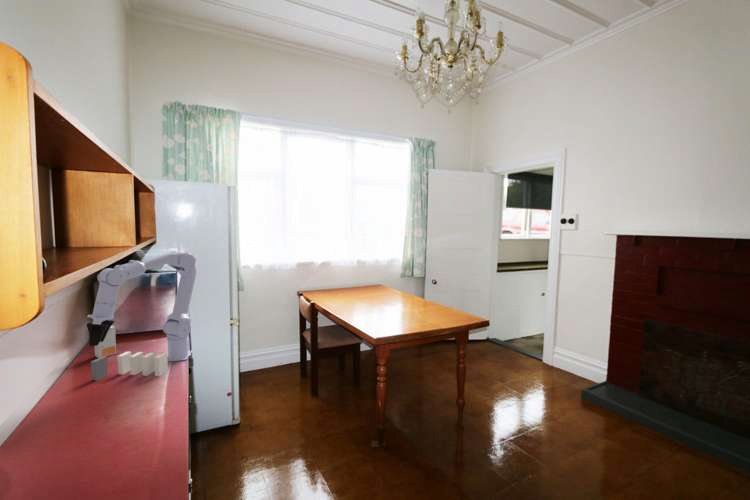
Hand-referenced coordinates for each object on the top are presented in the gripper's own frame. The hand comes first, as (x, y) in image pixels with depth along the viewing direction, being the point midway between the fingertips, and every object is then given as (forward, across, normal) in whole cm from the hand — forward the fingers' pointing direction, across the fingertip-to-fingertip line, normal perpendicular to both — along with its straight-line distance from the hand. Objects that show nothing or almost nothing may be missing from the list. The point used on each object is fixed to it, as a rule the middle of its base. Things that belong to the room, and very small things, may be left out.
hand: (96, 343), depth 114 cm
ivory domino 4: (+11, -5, +21) cm, 24 cm away
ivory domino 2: (+12, -10, +13) cm, 20 cm away
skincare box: (+11, -35, -2) cm, 37 cm away
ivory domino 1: (+12, -12, +9) cm, 20 cm away
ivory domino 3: (+11, -7, +17) cm, 21 cm away
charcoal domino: (+14, -11, +2) cm, 18 cm away
